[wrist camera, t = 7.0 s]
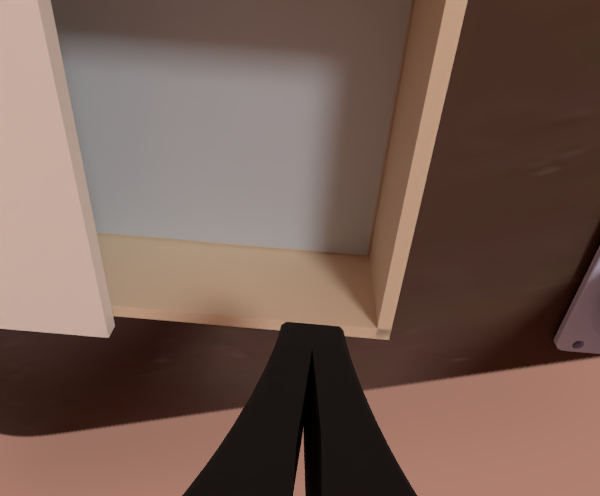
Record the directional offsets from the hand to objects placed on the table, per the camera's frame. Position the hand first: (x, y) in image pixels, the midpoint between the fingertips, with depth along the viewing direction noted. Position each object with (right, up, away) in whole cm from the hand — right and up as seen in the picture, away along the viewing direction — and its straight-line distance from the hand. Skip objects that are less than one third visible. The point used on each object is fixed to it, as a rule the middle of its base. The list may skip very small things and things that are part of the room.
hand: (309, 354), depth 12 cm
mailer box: (-4, +8, +7) cm, 11 cm away
